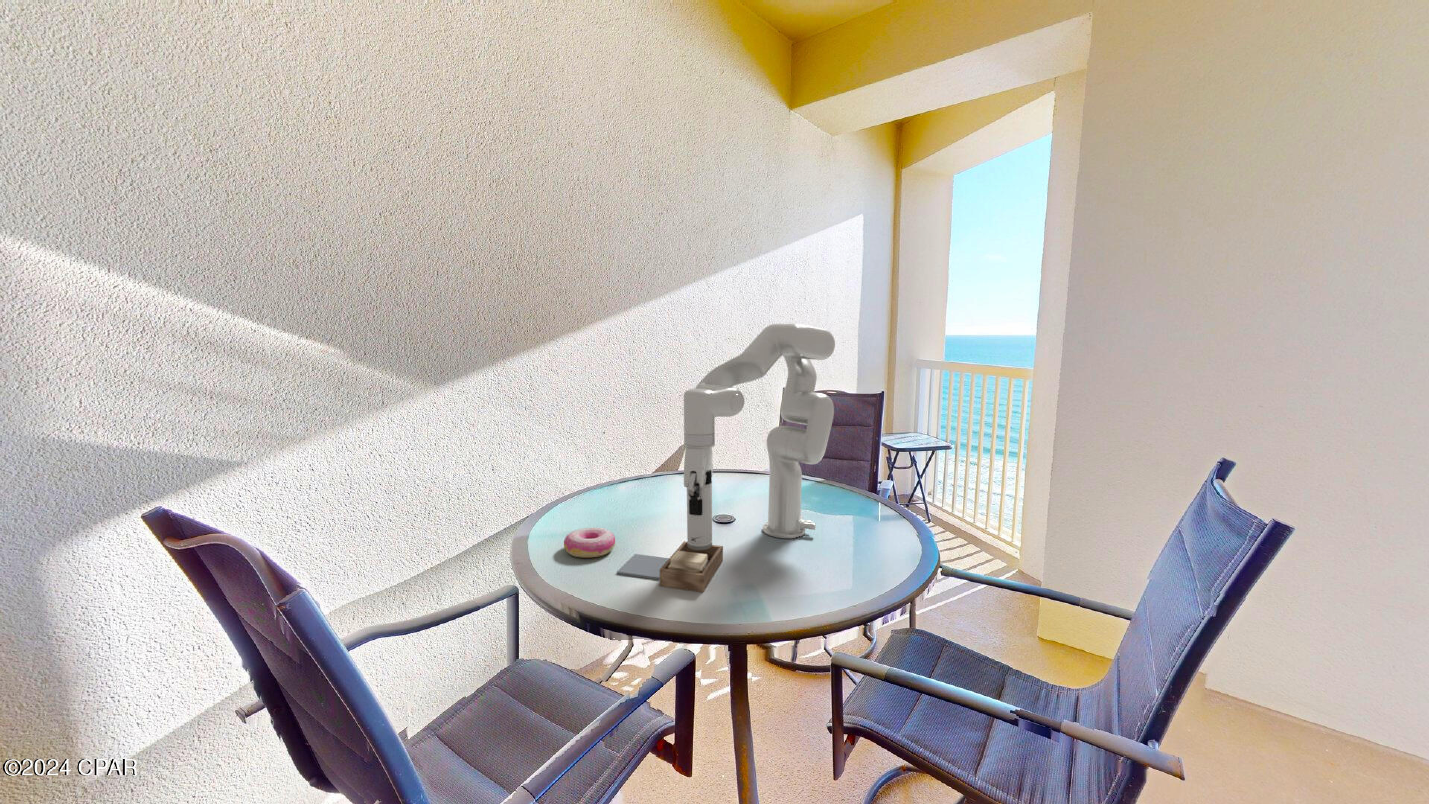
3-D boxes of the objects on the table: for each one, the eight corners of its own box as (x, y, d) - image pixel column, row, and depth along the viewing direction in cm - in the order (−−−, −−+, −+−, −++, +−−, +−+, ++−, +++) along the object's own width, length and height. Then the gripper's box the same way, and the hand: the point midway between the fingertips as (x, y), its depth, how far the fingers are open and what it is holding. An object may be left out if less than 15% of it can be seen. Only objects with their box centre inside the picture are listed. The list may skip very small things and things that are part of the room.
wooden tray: (722, 560, 138) (723, 546, 138) (703, 592, 122) (703, 575, 121) (683, 555, 141) (683, 541, 141) (659, 585, 124) (659, 569, 124)
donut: (620, 557, 140) (620, 539, 140) (568, 565, 135) (567, 546, 135) (609, 539, 153) (609, 522, 152) (561, 545, 148) (561, 528, 147)
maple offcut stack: (707, 578, 129) (707, 554, 128) (701, 587, 124) (701, 562, 123) (675, 573, 131) (675, 550, 130) (668, 582, 126) (668, 558, 126)
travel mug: (694, 553, 131) (693, 474, 128) (683, 543, 137) (682, 467, 134) (717, 548, 134) (716, 470, 131) (705, 539, 139) (704, 464, 136)
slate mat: (674, 561, 138) (674, 559, 138) (659, 579, 127) (659, 577, 127) (635, 556, 141) (635, 553, 141) (616, 573, 130) (616, 571, 130)
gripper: (695, 431, 140) (695, 497, 143) (673, 446, 124) (674, 520, 127) (723, 433, 138) (723, 500, 141) (704, 448, 122) (704, 523, 125)
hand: (700, 509), depth 134 cm, fingers closed on travel mug, 6 cm apart
